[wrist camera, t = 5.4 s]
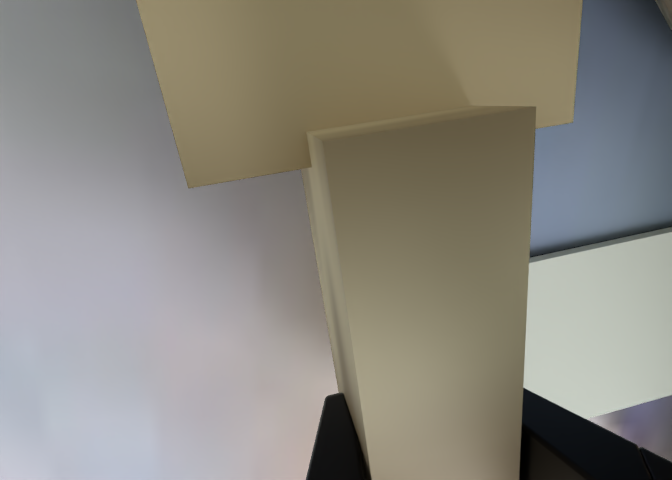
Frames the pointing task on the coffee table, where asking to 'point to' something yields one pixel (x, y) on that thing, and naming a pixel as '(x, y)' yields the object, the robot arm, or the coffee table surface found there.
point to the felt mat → (601, 324)
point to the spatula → (391, 190)
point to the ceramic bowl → (666, 10)
